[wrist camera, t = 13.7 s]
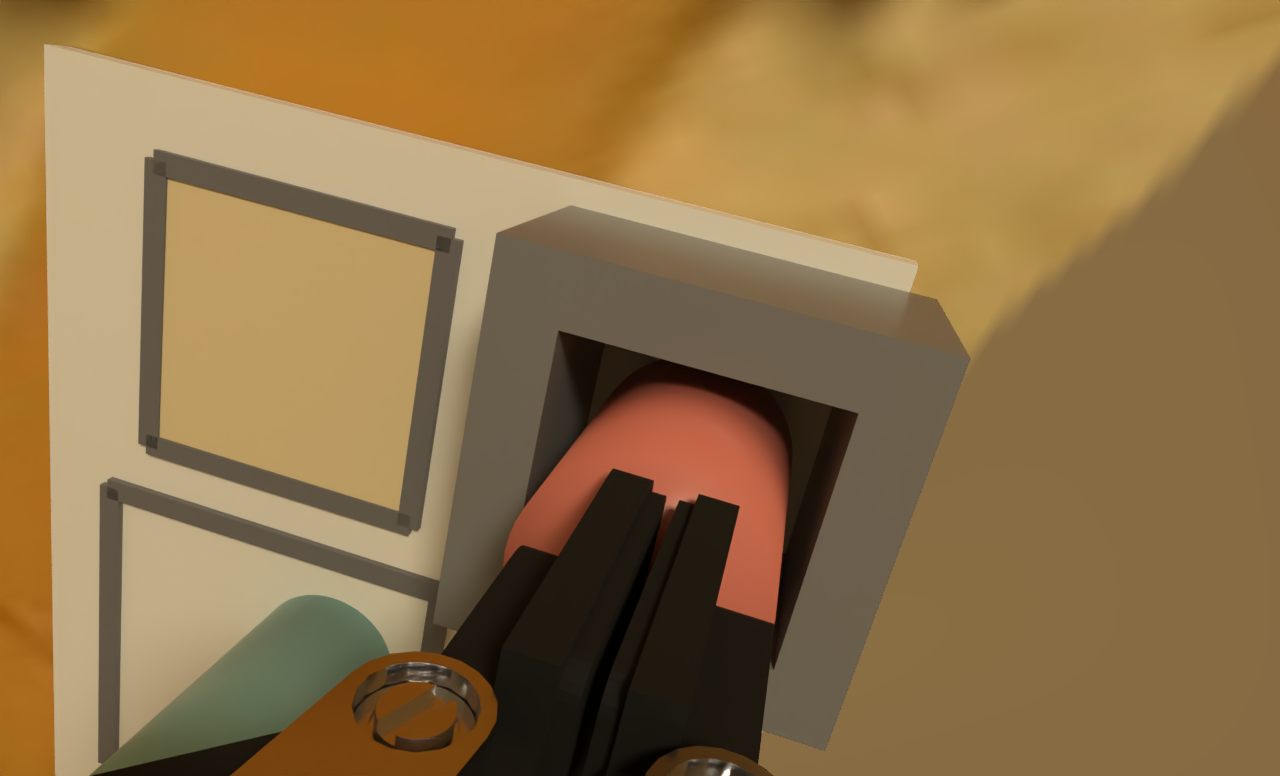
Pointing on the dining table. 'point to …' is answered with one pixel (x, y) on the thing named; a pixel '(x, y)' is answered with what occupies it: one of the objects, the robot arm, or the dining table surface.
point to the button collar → (732, 347)
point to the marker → (260, 681)
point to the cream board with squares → (279, 368)
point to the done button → (681, 470)
